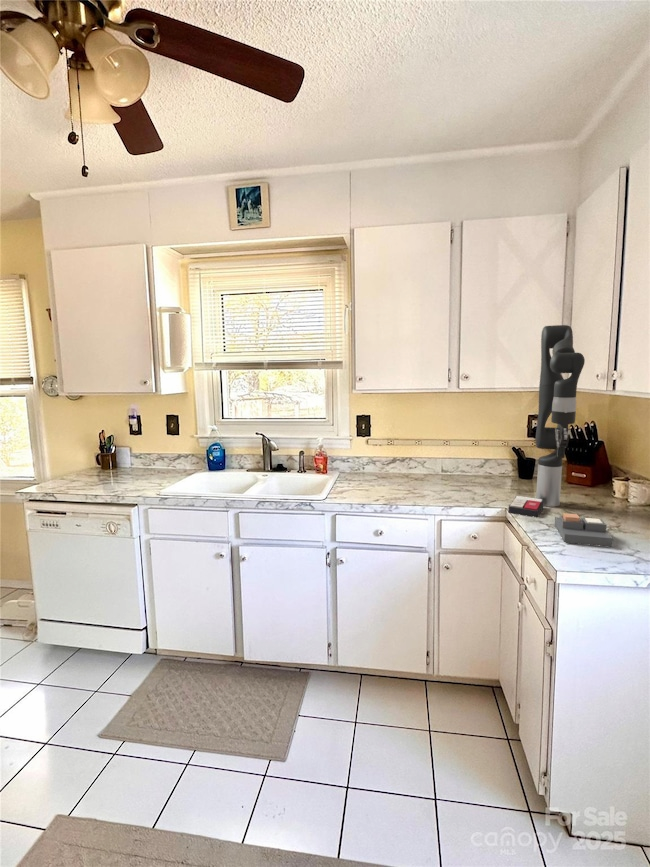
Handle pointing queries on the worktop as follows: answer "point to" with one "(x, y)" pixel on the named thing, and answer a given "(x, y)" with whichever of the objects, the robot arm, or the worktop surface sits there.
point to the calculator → (526, 506)
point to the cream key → (593, 520)
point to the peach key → (571, 517)
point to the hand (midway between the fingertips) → (560, 457)
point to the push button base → (583, 532)
